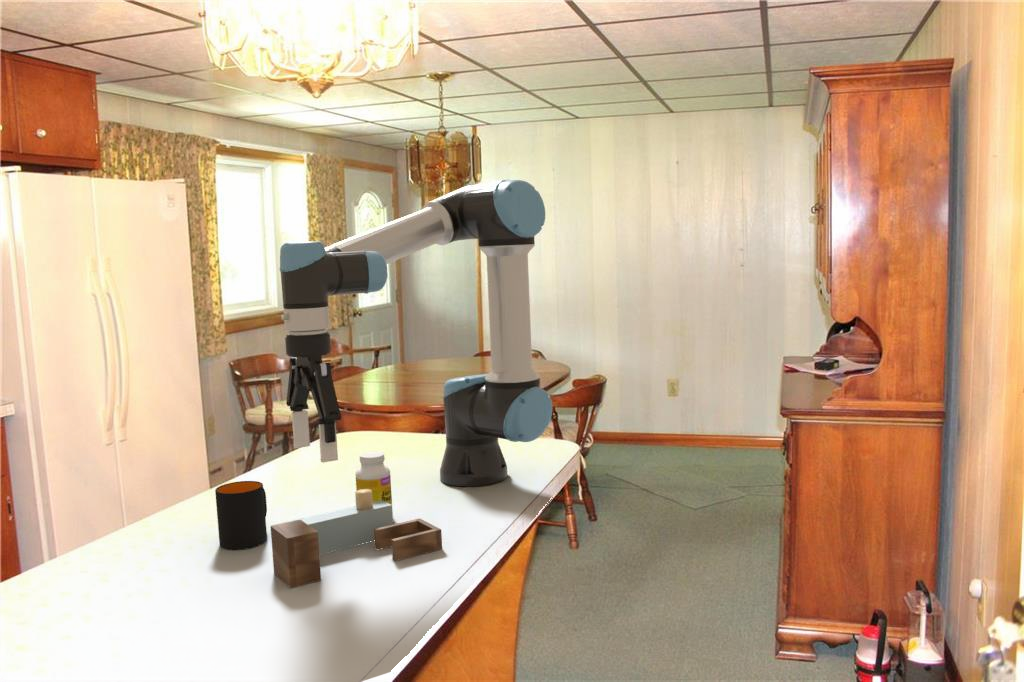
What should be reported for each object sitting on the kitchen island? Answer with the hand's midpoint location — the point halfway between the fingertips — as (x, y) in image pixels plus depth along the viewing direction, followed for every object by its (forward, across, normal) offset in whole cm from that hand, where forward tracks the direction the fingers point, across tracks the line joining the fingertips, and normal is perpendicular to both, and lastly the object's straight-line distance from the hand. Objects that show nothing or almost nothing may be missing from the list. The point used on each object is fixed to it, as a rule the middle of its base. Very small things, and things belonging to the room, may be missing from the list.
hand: (315, 453), depth 152 cm
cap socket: (+17, +10, -8) cm, 21 cm away
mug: (+17, -14, -9) cm, 24 cm away
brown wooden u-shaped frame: (+17, +10, +12) cm, 23 cm away
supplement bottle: (+17, -9, +14) cm, 24 cm away
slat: (+17, 0, +4) cm, 18 cm away
